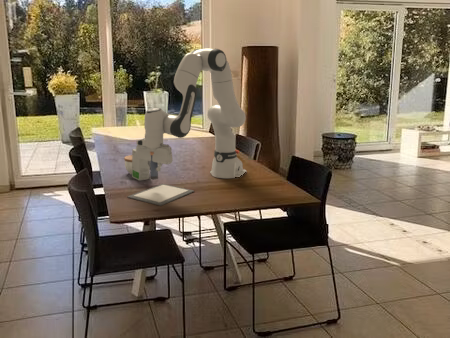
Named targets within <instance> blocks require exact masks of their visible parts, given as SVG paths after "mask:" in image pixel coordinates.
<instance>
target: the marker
mask: <svg viewBox="0 0 450 338" xmlns="http://www.w3.org/2000/svg"><path fill="white" fill-rule="evenodd" d="M153 154H154V152H150V155H151V161H150V172H149V179H150V180H158V179H159V172H158V171H156V168H157V167H158V163H157V162H153V161H152V156H153Z"/></svg>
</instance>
